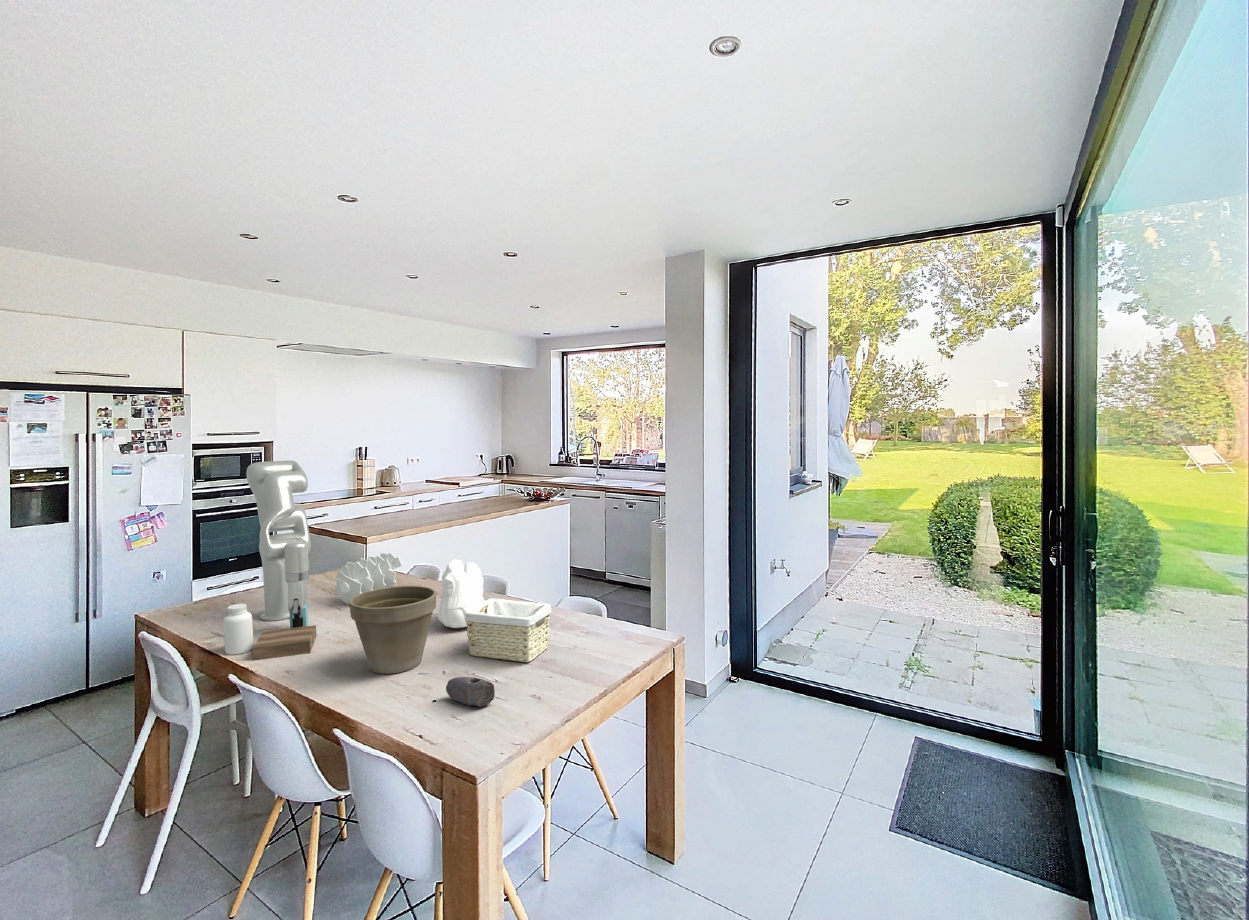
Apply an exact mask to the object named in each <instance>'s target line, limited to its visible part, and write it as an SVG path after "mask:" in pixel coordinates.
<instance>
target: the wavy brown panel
mask: <svg viewBox="0 0 1249 920" xmlns="http://www.w3.org/2000/svg"><path fill="white" fill-rule="evenodd" d="M316 639H317V625H308V626H305V627H296V628H290V627H288V628H281V629H271V630H263V631H262V632H261V634H260V636H259V637H258V638H257V641H255V643H254V644H253V649H252V659H253V661H258V660H267V659H274V658H275V659H276V658H282V657H291V656H297V655H304V654H305V655H306V654H311V652H312V650H313V647H314V645H315V644H314V643H315V641H316Z"/></svg>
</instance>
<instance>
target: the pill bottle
mask: <svg viewBox="0 0 1249 920" xmlns="http://www.w3.org/2000/svg"><path fill="white" fill-rule="evenodd" d="M226 610H227V615H225V616H224V618H223V621H222V622H223V639H224V652H225V654H226V655H233V656H234V655H240V654H241V655H242V654H245V653H248V652H250V651H253V647H254V630H253V629H254V628H253V615H252V612H250V611H248V608H247V604H246V603H235V604H231V605H228V606H227V608H226Z"/></svg>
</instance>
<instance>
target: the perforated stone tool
mask: <svg viewBox="0 0 1249 920" xmlns="http://www.w3.org/2000/svg"><path fill="white" fill-rule="evenodd" d="M445 690H446V693H447V695H448V696H449V698H451V699H452V700H454V701H455V702H459V703H461V704H464V705H467V706H472V707H473V706H477V707H479V708H483V707H484V706H486V705H489V704H490V703H491V702H492V701H493V700H494V698H495V696H496V695H495V692H496V690H495V685H494V684H493V682H491V681H488V680H485V679H483V678H478V677H474V676H473V677H471V676H470V677H469V676H458V677H457V676H456V677H453V678H451V679H448V681H447V683H446V686H445Z"/></svg>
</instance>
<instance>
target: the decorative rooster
mask: <svg viewBox="0 0 1249 920" xmlns="http://www.w3.org/2000/svg"><path fill="white" fill-rule="evenodd" d="M445 567H446V568H445V570H444V572H443V573H442V575H441V590H442V591H441V592H442V593H441V600H440V604H439V609H438V611H437V619H438V622H441V623H442V624H443V626H445V627H448V628H452V629H459V628H467V622H466V620H465V612H466V611H467V610H469V609H471V608H473V607H475V606H476V605H478V604H480V603H482V602H484V601H485V599H484V597H483V595H484V577H483V576H482V575H483V574H482V572H481V571H482V569H480V567H478V565H477V564H476V563H475V562H472V561H470V562H466V563H465V565H464V563H463V562H462V560H459V559H452V560H451V561H450V562H448V564H447V565H446V566H445ZM482 613H483V614H485V611H484V612H482Z"/></svg>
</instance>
